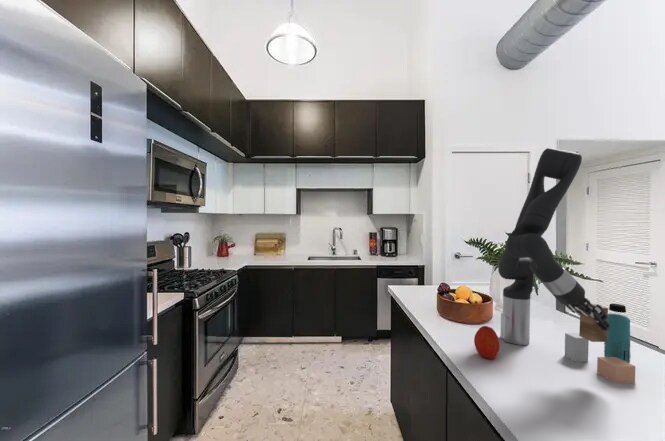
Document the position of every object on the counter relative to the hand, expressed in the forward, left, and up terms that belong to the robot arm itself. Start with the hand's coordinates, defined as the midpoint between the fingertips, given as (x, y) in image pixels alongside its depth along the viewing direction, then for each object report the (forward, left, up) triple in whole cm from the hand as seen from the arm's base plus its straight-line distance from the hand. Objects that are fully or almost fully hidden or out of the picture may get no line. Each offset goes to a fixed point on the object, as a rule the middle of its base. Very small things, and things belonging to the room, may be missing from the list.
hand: (599, 325), depth 94 cm
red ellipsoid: (-29, +7, -16) cm, 34 cm away
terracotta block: (+5, +1, -16) cm, 17 cm away
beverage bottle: (+11, +11, -16) cm, 23 cm away
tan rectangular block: (-2, 0, -4) cm, 5 cm away
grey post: (+1, +13, -16) cm, 21 cm away
